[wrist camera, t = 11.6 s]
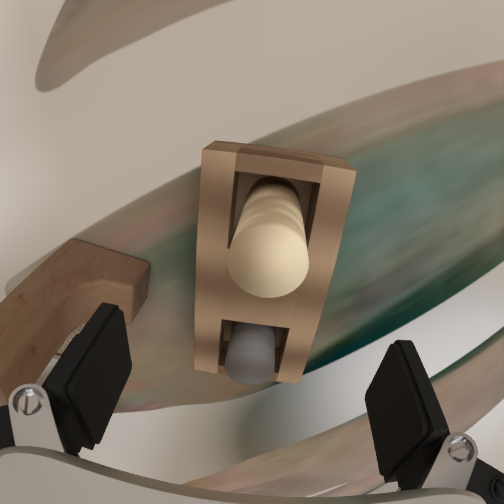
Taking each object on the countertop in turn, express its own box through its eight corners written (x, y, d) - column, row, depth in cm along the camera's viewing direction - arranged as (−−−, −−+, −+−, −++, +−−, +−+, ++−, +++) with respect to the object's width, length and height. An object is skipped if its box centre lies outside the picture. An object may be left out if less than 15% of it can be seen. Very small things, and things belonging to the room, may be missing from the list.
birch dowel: (302, 179, 24) (315, 232, 15) (295, 228, 26) (301, 302, 17) (249, 172, 24) (229, 221, 15) (245, 221, 26) (225, 292, 17)
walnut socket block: (297, 351, 33) (299, 403, 27) (203, 338, 33) (188, 389, 27) (343, 158, 24) (366, 180, 18) (215, 140, 24) (192, 156, 18)
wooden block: (151, 261, 29) (54, 417, 13) (147, 298, 31) (68, 449, 15) (71, 236, 29) (-49, 353, 13) (72, 273, 31) (-29, 393, 15)
